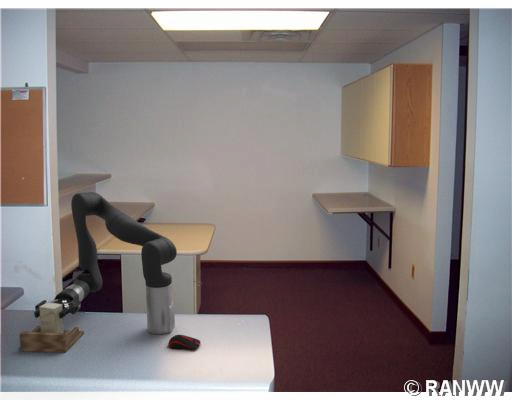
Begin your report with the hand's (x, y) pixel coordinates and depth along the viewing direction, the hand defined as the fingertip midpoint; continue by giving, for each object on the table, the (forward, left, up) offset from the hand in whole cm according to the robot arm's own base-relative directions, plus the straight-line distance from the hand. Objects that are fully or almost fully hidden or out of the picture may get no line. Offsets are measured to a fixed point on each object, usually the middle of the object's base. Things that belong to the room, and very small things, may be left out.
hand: (48, 315), depth 167 cm
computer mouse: (-45, -3, -11) cm, 47 cm away
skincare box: (0, -2, -10) cm, 10 cm away
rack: (0, -2, -10) cm, 11 cm away
